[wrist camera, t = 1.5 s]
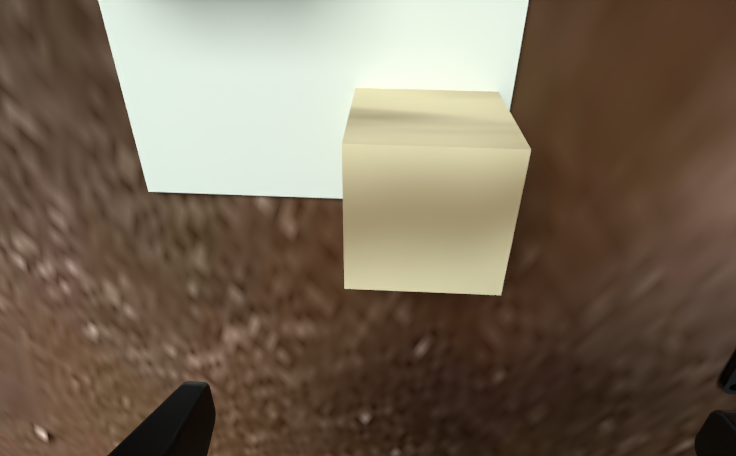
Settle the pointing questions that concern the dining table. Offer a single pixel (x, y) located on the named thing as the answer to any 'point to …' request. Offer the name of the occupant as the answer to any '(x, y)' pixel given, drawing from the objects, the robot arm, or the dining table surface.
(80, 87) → the dining table surface
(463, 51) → the white board
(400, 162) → the maple cube
